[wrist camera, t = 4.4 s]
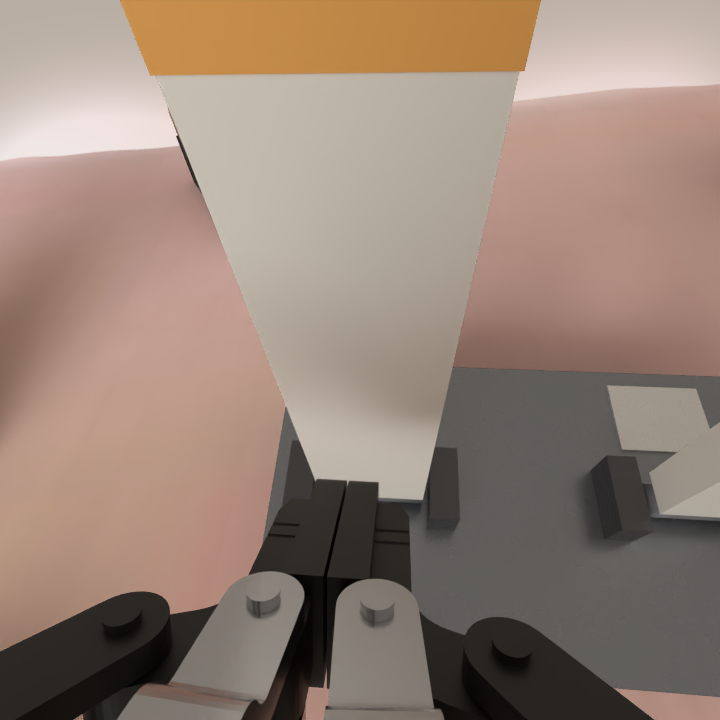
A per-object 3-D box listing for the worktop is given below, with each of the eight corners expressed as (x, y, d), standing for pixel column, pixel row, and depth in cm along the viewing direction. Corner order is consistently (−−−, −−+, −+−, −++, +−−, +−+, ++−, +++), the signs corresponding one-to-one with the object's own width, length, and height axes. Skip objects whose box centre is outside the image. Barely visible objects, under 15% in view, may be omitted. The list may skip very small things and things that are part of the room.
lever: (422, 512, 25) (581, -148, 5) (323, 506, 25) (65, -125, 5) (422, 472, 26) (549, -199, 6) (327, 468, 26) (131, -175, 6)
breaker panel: (791, 701, 24) (928, 715, 18) (266, 657, 26) (230, 656, 20) (696, 414, 33) (767, 357, 27) (304, 398, 35) (287, 342, 29)
